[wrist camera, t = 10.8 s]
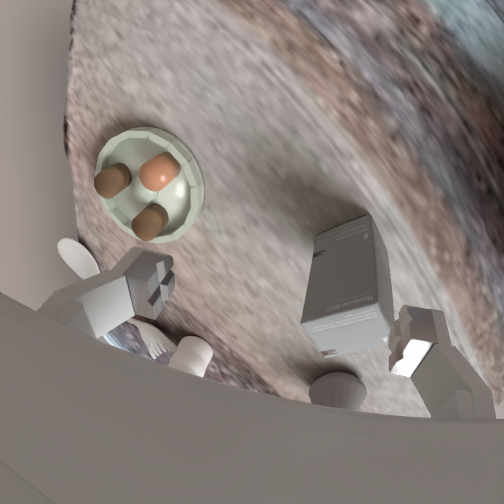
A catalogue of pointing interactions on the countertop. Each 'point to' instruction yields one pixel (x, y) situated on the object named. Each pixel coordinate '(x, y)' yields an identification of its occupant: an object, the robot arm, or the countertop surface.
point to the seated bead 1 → (112, 180)
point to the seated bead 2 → (150, 222)
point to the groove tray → (167, 194)
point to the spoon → (88, 267)
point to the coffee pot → (338, 391)
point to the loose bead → (159, 171)
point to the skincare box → (349, 290)
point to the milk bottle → (192, 356)
